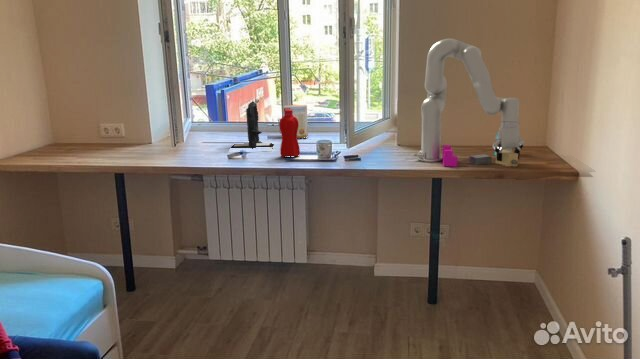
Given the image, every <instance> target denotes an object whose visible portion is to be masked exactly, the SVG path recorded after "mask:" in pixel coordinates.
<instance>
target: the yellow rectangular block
mask: <svg viewBox="0 0 640 359" xmlns="http://www.w3.org/2000/svg"><path fill="white" fill-rule="evenodd" d="M495 152H496V151H495ZM501 153H502V161H498V160H497V152H496V155H495V164H498V163H499V165H501V164H502V165H501V166H504V165H505V166H504V167H507V166H513V167H518V165H519V164H518V162H519V159H518V154H517V153H514V151H513V152H510V151H507V150H502V152H501Z"/></svg>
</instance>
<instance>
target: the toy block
mask: <svg viewBox="0 0 640 359" xmlns="http://www.w3.org/2000/svg"><path fill="white" fill-rule="evenodd" d="M441 156H442V161H441V162H442V165H443V167H452V168H453V167H455V168H458V161H459V160H458V155H455V154H454V151H453V149H452V145H448V144H447V145H445V144H444V145H443V146H442V155H441Z"/></svg>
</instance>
